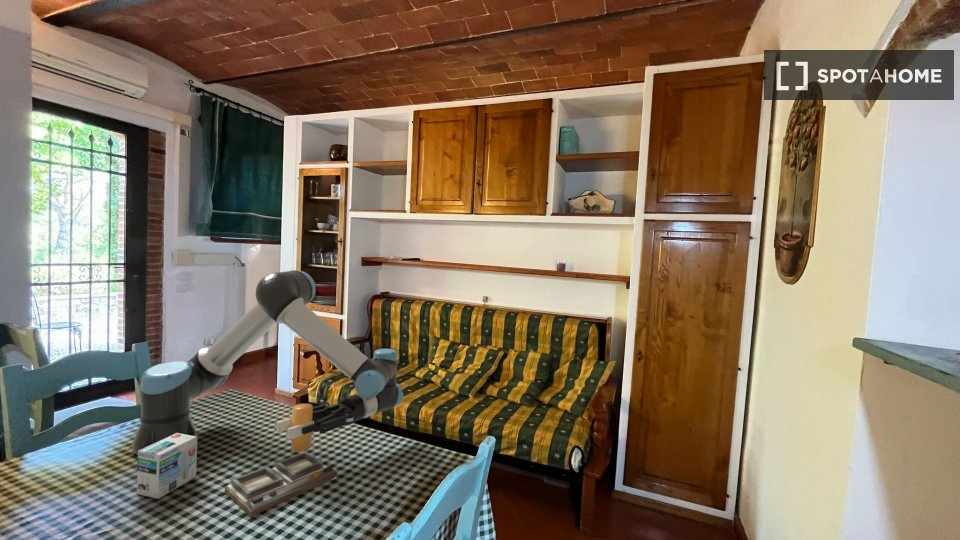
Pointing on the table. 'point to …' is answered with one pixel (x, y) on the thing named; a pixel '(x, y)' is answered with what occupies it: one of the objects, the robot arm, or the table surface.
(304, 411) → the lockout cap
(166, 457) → the light bulb box
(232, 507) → the table surface
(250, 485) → the board
